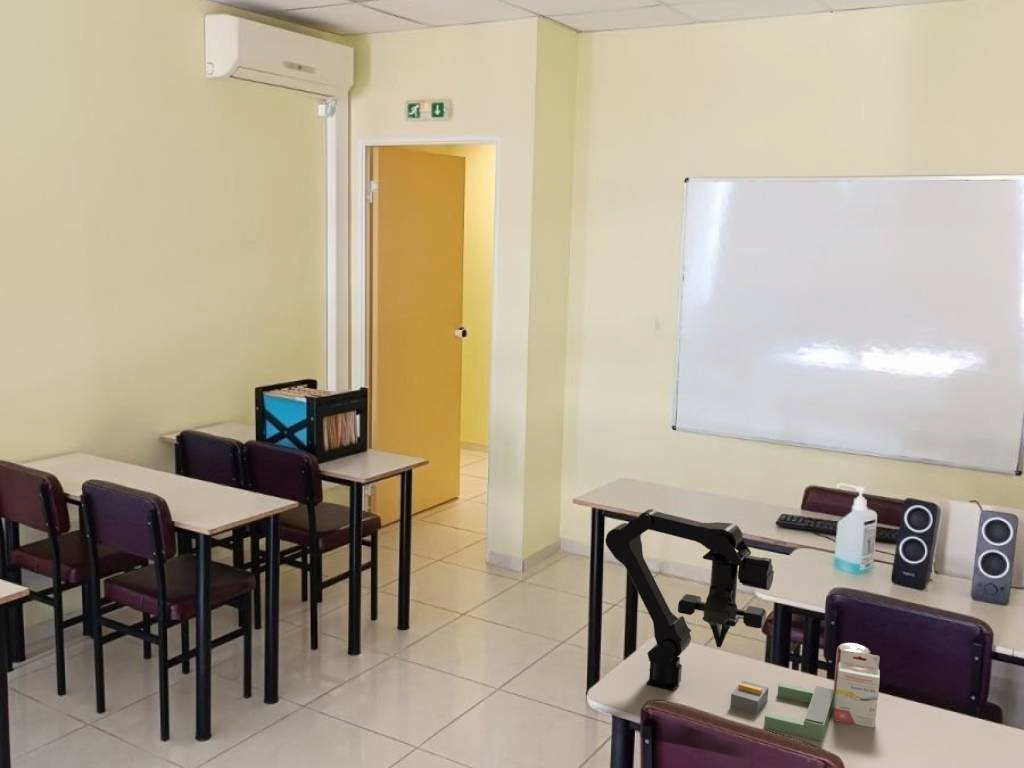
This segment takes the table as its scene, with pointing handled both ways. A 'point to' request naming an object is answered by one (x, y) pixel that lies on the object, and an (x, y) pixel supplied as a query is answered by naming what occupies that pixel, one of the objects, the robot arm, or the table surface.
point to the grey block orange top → (749, 697)
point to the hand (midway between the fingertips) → (719, 646)
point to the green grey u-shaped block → (814, 717)
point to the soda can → (854, 648)
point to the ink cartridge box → (857, 689)
